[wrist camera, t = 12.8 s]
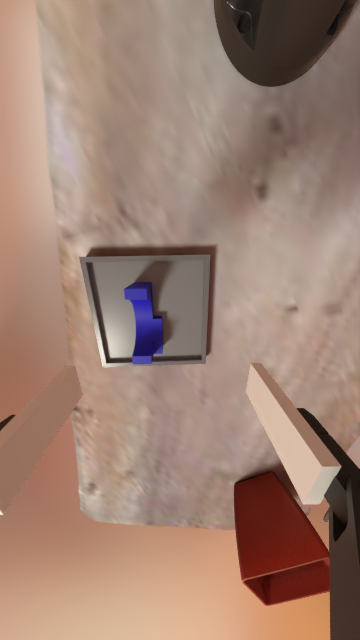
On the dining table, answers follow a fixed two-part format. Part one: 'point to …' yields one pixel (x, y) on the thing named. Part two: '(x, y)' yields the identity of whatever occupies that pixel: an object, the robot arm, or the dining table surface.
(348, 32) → the dining table surface
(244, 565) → the plant pot
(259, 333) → the dining table surface
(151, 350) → the cable clip
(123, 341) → the tray
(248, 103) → the dining table surface
